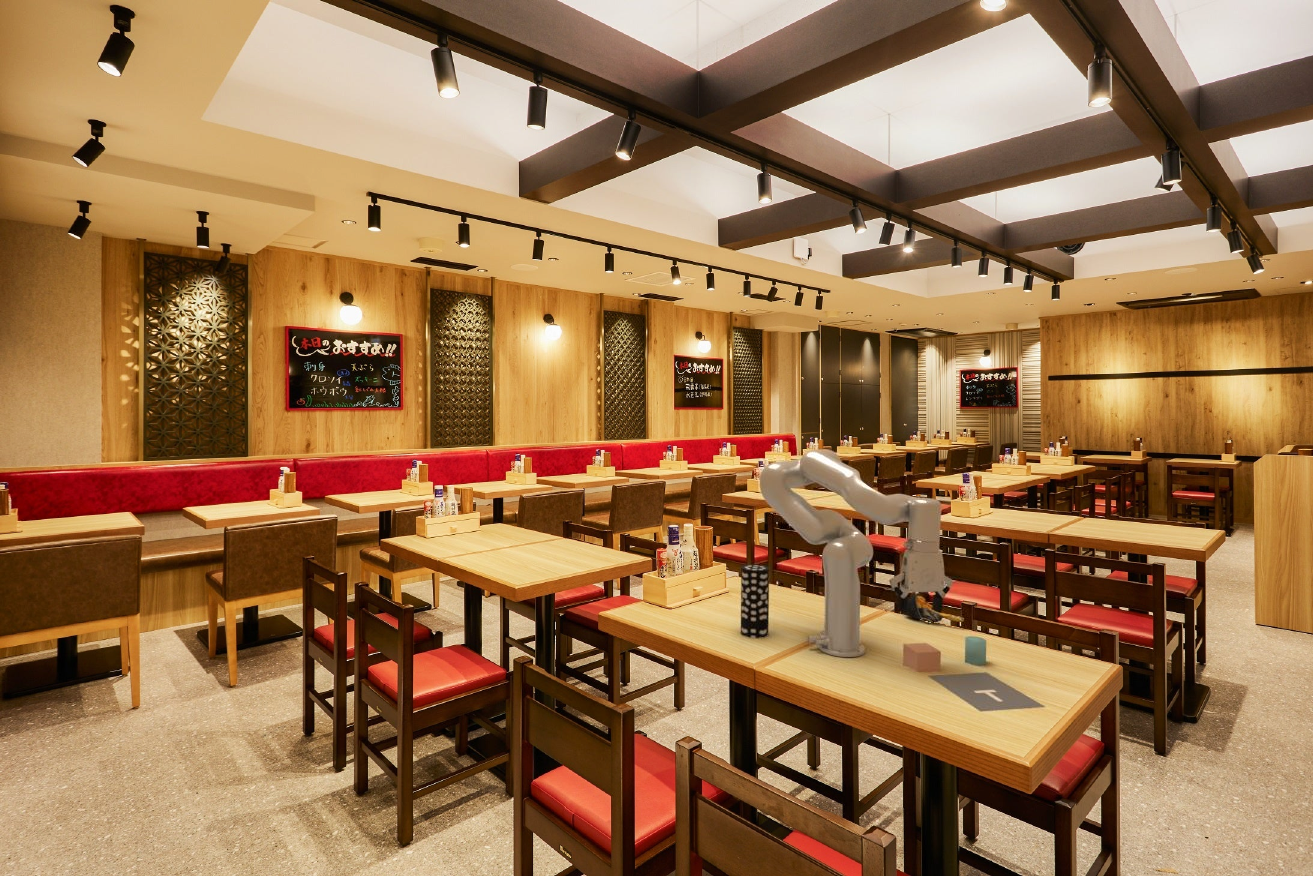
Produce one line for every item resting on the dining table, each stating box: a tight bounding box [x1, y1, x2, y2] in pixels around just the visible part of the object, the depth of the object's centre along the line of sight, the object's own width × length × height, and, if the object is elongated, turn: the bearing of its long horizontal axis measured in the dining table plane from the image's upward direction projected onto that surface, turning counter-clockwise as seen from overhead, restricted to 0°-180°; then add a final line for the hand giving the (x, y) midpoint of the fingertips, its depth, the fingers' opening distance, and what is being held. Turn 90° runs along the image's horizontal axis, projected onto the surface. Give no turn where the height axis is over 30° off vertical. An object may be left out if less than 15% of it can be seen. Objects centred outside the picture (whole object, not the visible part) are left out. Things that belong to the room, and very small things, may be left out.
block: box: [902, 642, 942, 673], centre depth 167 cm, size 6×6×6 cm
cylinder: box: [964, 636, 987, 667], centre depth 170 cm, size 5×5×7 cm
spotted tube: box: [740, 564, 770, 639], centre depth 195 cm, size 8×8×20 cm
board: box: [928, 671, 1046, 712], centre depth 152 cm, size 16×20×1 cm
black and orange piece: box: [904, 592, 965, 623], centre depth 208 cm, size 9×11×18 cm
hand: (919, 611), depth 167 cm, fingers open, 9 cm apart
